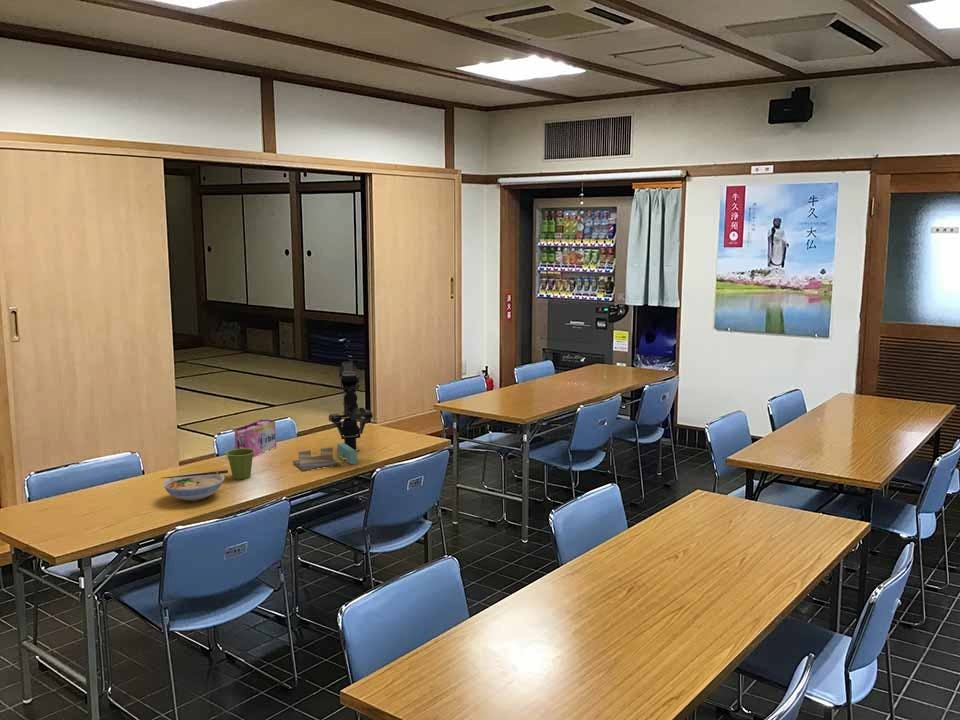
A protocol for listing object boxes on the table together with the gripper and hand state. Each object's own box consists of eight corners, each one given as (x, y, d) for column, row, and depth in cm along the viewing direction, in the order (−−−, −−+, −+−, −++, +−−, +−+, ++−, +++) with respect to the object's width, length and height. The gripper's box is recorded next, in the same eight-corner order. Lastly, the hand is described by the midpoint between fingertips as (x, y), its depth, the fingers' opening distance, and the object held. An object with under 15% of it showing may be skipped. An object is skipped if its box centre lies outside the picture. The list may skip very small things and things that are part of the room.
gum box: (247, 460, 369) (246, 431, 367) (233, 458, 372) (231, 430, 370) (277, 447, 392) (275, 420, 390) (263, 446, 394) (261, 419, 392)
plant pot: (223, 482, 334) (222, 455, 333) (232, 474, 346) (230, 448, 345) (252, 481, 335) (250, 455, 333) (259, 473, 346) (258, 448, 345)
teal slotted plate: (338, 456, 373) (337, 443, 372) (344, 455, 375) (343, 442, 374) (350, 465, 357) (350, 452, 357) (357, 464, 359) (356, 451, 358)
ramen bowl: (157, 510, 299) (155, 489, 297) (164, 493, 320) (162, 473, 319) (227, 504, 305) (226, 483, 304) (229, 487, 327) (228, 467, 326)
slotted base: (292, 463, 362) (292, 447, 361) (329, 457, 370) (328, 443, 369) (302, 471, 348) (301, 455, 347) (340, 465, 356) (339, 450, 355)
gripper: (335, 406, 345) (337, 441, 347) (376, 401, 354) (377, 436, 356) (327, 401, 355) (329, 436, 357) (367, 397, 363) (368, 431, 366)
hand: (351, 435), depth 359 cm, fingers open, 9 cm apart
